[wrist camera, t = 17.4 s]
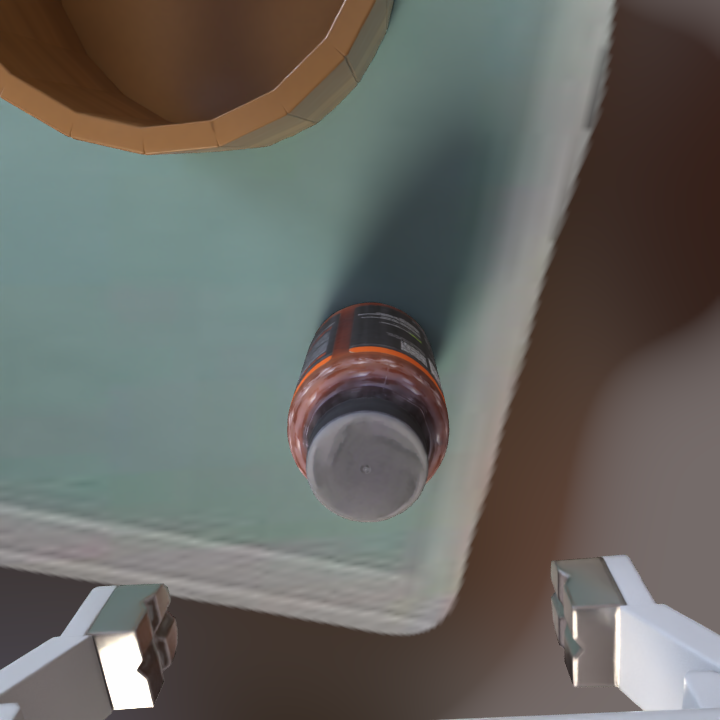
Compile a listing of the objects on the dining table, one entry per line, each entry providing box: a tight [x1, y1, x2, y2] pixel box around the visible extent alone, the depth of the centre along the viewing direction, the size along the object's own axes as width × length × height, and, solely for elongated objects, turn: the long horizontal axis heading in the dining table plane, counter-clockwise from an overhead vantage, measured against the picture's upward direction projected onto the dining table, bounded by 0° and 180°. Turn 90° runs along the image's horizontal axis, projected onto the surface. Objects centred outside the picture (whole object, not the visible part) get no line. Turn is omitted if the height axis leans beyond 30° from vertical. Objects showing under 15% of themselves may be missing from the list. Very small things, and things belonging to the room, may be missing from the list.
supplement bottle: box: [287, 303, 449, 522], centre depth 27 cm, size 6×6×11 cm
